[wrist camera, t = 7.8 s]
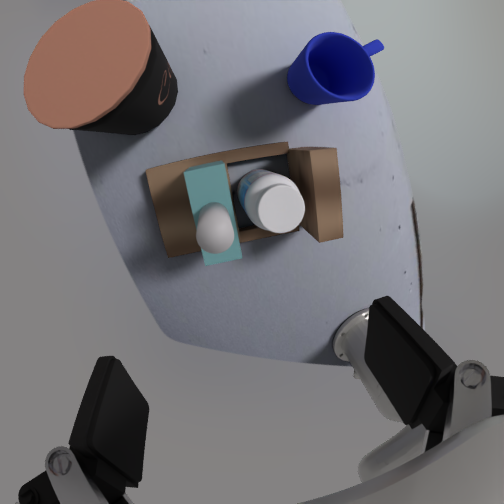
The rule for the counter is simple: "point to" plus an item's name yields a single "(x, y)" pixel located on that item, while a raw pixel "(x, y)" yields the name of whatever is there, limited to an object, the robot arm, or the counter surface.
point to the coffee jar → (100, 72)
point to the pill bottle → (271, 201)
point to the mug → (333, 69)
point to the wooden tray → (179, 208)
